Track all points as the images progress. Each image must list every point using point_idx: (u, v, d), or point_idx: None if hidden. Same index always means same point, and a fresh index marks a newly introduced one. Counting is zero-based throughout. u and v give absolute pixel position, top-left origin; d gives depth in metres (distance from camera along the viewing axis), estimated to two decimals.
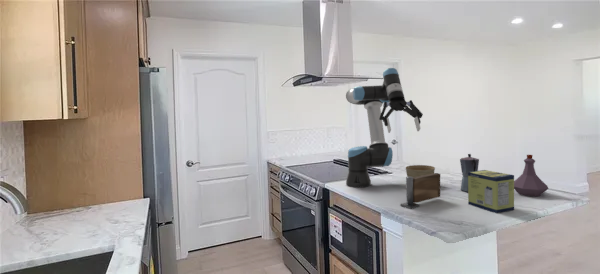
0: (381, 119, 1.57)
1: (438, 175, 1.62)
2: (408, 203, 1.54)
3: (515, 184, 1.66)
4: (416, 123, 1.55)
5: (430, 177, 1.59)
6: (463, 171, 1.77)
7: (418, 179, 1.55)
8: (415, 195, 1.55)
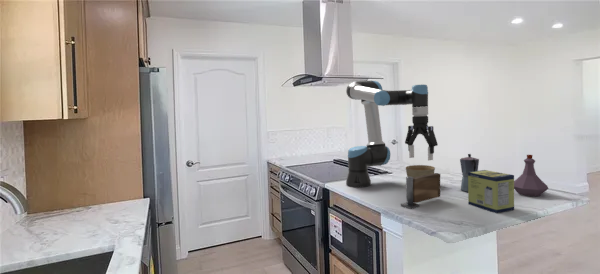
0: (408, 143, 1.74)
1: (438, 175, 1.62)
2: (408, 203, 1.54)
3: (515, 184, 1.66)
4: None
5: (430, 177, 1.59)
6: (463, 171, 1.77)
7: (418, 179, 1.55)
8: (415, 195, 1.55)
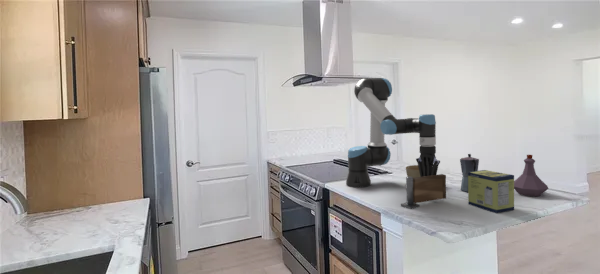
0: None
1: (443, 176, 1.59)
2: (408, 203, 1.54)
3: (515, 184, 1.66)
4: None
5: (433, 178, 1.57)
6: (463, 171, 1.77)
7: (419, 179, 1.54)
8: (415, 196, 1.54)
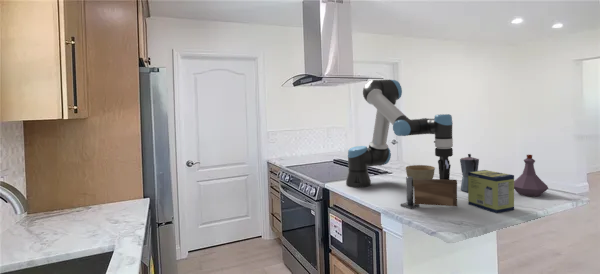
0: None
1: (453, 182, 1.46)
2: (408, 203, 1.54)
3: (515, 184, 1.66)
4: None
5: (439, 182, 1.48)
6: (463, 171, 1.77)
7: (419, 181, 1.51)
8: (415, 197, 1.53)
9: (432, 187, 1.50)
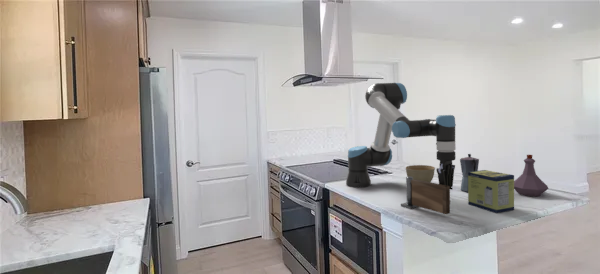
0: (450, 187, 1.45)
1: (442, 188, 1.37)
2: (408, 203, 1.54)
3: (515, 184, 1.66)
4: None
5: (430, 186, 1.42)
6: (463, 171, 1.77)
7: (415, 182, 1.49)
8: (412, 197, 1.52)
9: (425, 190, 1.45)
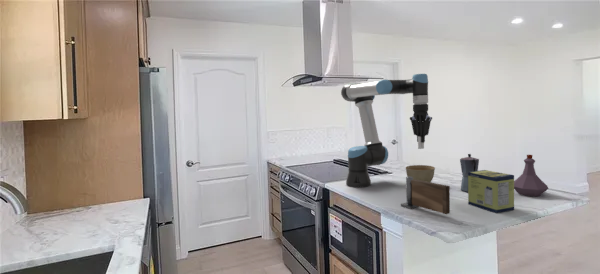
0: None
1: (442, 188, 1.37)
2: (408, 203, 1.54)
3: (515, 184, 1.66)
4: None
5: (430, 186, 1.42)
6: (463, 171, 1.77)
7: (415, 182, 1.49)
8: (412, 197, 1.52)
9: (425, 190, 1.45)
